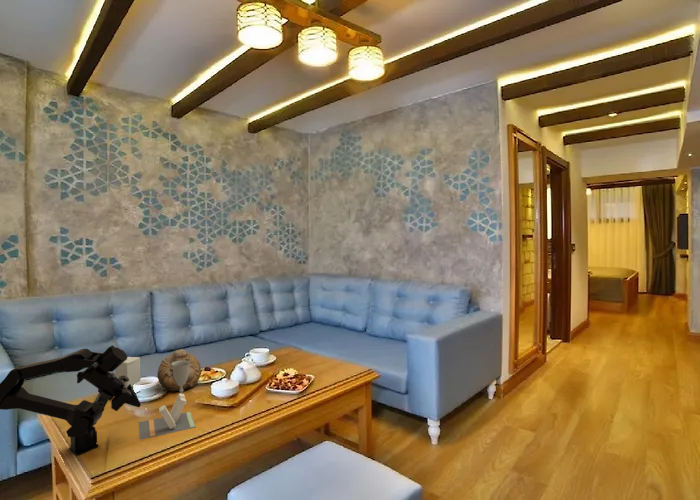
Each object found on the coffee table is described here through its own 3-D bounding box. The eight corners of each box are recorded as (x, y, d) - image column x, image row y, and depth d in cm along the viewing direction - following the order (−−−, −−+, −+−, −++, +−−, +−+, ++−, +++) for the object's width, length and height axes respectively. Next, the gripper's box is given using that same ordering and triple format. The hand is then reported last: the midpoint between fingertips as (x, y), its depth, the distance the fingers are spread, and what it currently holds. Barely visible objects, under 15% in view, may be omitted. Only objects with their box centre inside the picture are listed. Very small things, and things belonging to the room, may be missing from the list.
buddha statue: (165, 398, 171) (163, 358, 170) (153, 387, 184) (151, 350, 183) (211, 385, 185) (209, 348, 184) (196, 375, 198) (194, 341, 197)
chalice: (168, 407, 163) (167, 364, 162) (182, 401, 169) (181, 359, 168) (180, 411, 159) (180, 367, 158) (194, 404, 165) (193, 362, 164)
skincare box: (127, 399, 170) (126, 363, 170) (114, 397, 172) (113, 362, 171) (141, 391, 179) (140, 356, 178) (128, 389, 180) (127, 355, 179)
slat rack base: (139, 443, 136) (139, 415, 135) (139, 425, 148) (138, 399, 147) (195, 430, 144) (195, 404, 144) (190, 414, 157) (190, 390, 156)
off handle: (170, 429, 142) (159, 411, 140) (169, 425, 145) (158, 408, 143) (175, 425, 143) (165, 408, 141) (175, 422, 146) (164, 404, 144)
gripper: (83, 389, 138) (119, 414, 144) (80, 410, 122) (121, 437, 128) (110, 364, 142) (144, 389, 148) (111, 381, 126) (149, 408, 132)
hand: (139, 405), depth 139 cm, fingers closed
